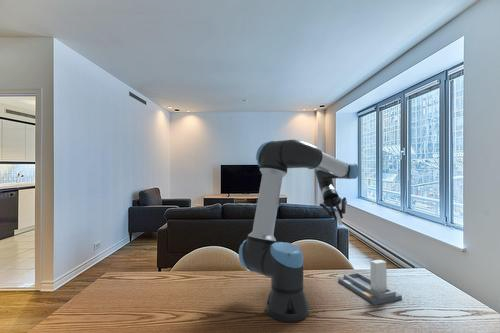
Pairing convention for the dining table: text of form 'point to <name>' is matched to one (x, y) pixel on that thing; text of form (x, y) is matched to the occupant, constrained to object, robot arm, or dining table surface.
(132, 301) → the dining table surface
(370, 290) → the switch board
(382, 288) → the switch tab
